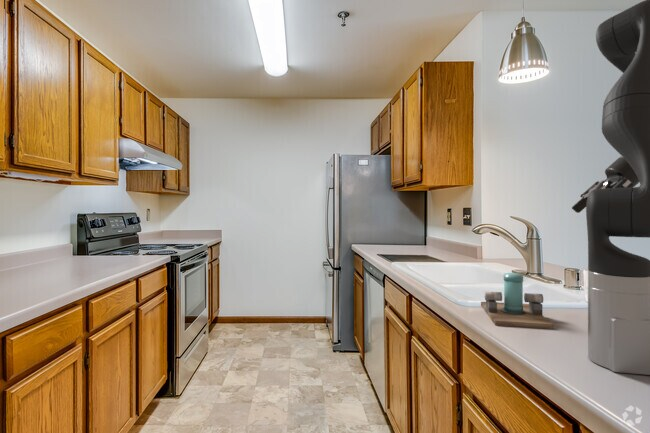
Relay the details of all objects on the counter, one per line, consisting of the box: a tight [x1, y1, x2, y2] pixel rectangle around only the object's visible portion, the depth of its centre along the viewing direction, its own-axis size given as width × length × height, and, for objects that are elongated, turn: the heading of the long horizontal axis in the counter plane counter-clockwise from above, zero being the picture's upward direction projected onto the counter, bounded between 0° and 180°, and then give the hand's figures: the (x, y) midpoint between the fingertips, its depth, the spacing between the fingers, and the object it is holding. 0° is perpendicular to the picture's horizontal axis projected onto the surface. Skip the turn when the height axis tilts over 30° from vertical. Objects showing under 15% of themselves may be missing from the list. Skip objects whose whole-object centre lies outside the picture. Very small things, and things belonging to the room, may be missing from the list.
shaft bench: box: [480, 291, 554, 330], centre depth 93 cm, size 18×14×6 cm
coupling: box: [503, 272, 524, 313], centre depth 94 cm, size 5×5×10 cm
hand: (582, 210), depth 92 cm, fingers open, 8 cm apart
